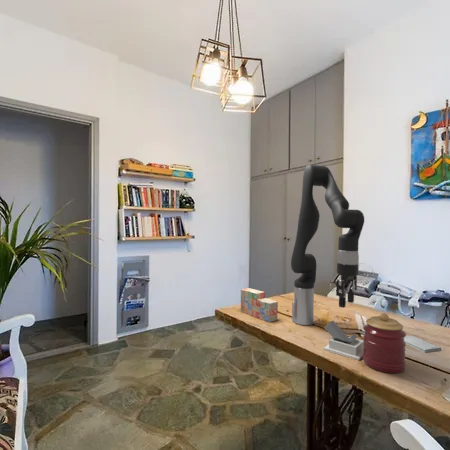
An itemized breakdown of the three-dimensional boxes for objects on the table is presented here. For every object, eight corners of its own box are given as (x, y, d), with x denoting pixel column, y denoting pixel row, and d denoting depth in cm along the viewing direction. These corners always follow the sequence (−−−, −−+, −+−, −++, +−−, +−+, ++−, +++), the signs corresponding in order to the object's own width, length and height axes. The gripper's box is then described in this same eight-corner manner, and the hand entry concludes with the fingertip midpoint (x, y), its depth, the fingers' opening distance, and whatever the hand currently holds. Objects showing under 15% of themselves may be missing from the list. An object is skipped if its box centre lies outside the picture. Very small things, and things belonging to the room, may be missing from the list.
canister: (378, 353, 111) (378, 306, 111) (413, 368, 100) (414, 316, 100) (354, 360, 105) (355, 310, 105) (389, 377, 94) (390, 322, 94)
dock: (323, 349, 114) (323, 339, 114) (335, 341, 122) (335, 332, 122) (359, 360, 105) (359, 350, 105) (368, 350, 113) (369, 340, 113)
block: (343, 349, 112) (324, 327, 118) (347, 346, 115) (328, 325, 120) (354, 340, 110) (333, 318, 115) (357, 337, 113) (337, 315, 118)
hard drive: (441, 347, 114) (412, 335, 126) (424, 349, 112) (397, 337, 124) (441, 351, 114) (412, 339, 126) (424, 354, 112) (397, 341, 124)
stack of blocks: (277, 320, 148) (278, 295, 148) (269, 322, 144) (269, 297, 144) (248, 309, 165) (249, 287, 165) (240, 311, 161) (240, 289, 161)
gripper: (344, 259, 121) (343, 299, 121) (330, 262, 110) (328, 306, 111) (364, 261, 115) (363, 302, 116) (350, 265, 105) (349, 311, 106)
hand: (346, 304), depth 113 cm, fingers open, 8 cm apart
